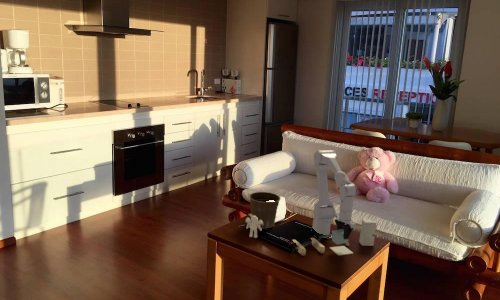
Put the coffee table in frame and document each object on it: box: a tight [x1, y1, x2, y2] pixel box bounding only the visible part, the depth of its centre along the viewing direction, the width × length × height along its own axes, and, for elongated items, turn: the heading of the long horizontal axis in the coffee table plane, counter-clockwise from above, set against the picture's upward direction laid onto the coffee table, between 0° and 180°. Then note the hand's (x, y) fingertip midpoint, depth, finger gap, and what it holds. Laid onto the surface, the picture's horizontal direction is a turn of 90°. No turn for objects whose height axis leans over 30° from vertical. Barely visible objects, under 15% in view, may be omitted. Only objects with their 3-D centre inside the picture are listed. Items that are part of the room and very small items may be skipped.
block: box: [331, 229, 349, 245], centre depth 208 cm, size 6×4×5 cm
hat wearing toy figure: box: [245, 213, 263, 239], centre depth 219 cm, size 9×4×12 cm, turn 74°
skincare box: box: [358, 219, 377, 247], centre depth 219 cm, size 6×4×12 cm
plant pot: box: [248, 191, 281, 230], centre depth 233 cm, size 16×16×16 cm
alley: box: [291, 236, 326, 256], centre depth 210 cm, size 11×12×3 cm
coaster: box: [329, 245, 354, 256], centre depth 210 cm, size 8×8×1 cm
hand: (342, 236), depth 209 cm, fingers closed on block, 4 cm apart
